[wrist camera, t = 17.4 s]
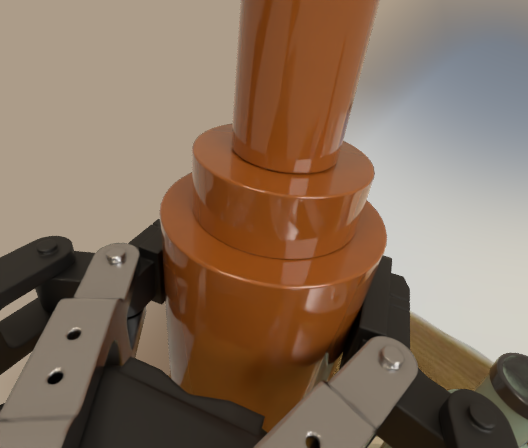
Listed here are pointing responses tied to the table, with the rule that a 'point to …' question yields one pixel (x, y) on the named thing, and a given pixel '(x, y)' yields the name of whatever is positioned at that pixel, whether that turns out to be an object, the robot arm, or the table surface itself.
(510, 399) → the grey-green bottle
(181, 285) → the amber bottle
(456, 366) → the table surface
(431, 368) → the table surface
